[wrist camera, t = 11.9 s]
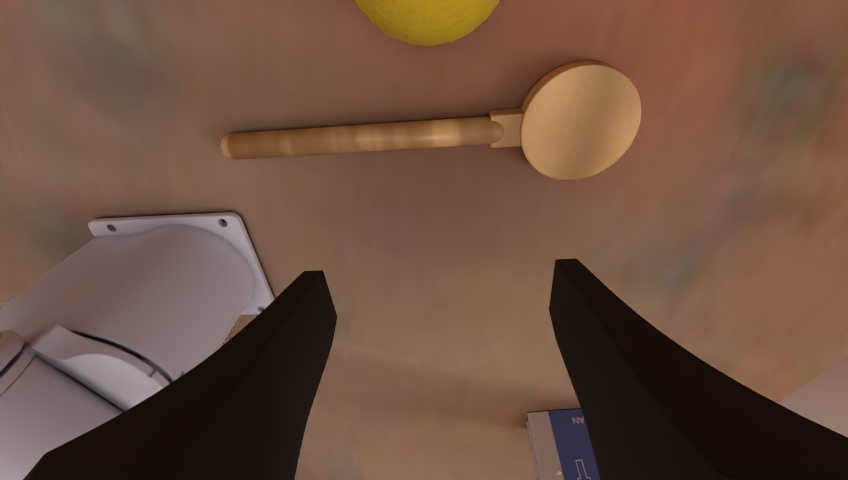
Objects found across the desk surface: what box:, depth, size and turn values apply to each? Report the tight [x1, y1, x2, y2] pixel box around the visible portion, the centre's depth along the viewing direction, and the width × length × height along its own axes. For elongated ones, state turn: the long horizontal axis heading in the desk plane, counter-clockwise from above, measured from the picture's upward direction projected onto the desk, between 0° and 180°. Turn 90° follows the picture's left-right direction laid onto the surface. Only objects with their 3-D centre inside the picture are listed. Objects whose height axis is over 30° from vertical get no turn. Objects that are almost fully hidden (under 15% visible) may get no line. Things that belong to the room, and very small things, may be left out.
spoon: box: [221, 60, 641, 180], centre depth 18 cm, size 20×5×1 cm, turn 94°
